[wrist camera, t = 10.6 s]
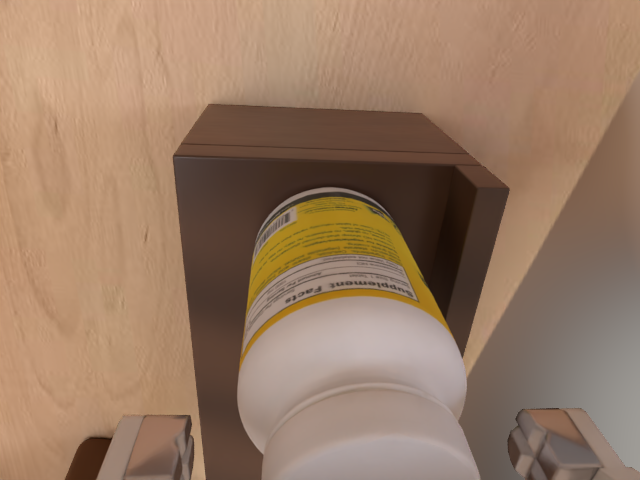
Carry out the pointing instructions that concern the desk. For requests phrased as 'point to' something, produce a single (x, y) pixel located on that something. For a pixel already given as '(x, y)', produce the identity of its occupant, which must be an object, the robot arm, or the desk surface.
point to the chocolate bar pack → (88, 460)
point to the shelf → (296, 177)
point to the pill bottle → (347, 350)
